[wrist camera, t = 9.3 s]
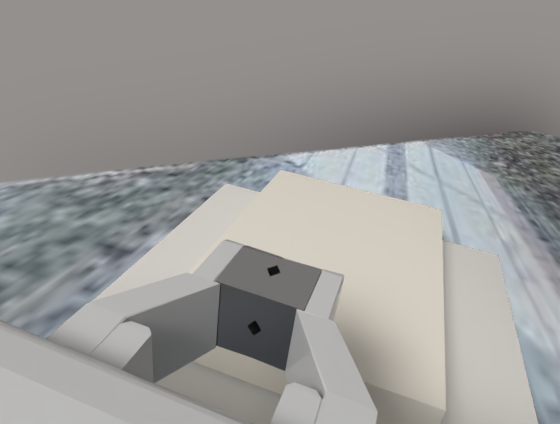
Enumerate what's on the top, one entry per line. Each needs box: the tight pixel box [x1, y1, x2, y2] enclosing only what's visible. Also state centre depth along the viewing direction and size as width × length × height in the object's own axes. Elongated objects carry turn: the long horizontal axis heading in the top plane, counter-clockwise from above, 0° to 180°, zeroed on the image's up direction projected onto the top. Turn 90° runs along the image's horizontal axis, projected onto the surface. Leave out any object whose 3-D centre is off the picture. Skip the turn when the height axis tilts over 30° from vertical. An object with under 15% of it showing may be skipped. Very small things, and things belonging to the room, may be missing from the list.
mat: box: [93, 184, 538, 424], centre depth 20 cm, size 18×18×1 cm
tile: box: [187, 170, 446, 424], centre depth 20 cm, size 10×2×14 cm
